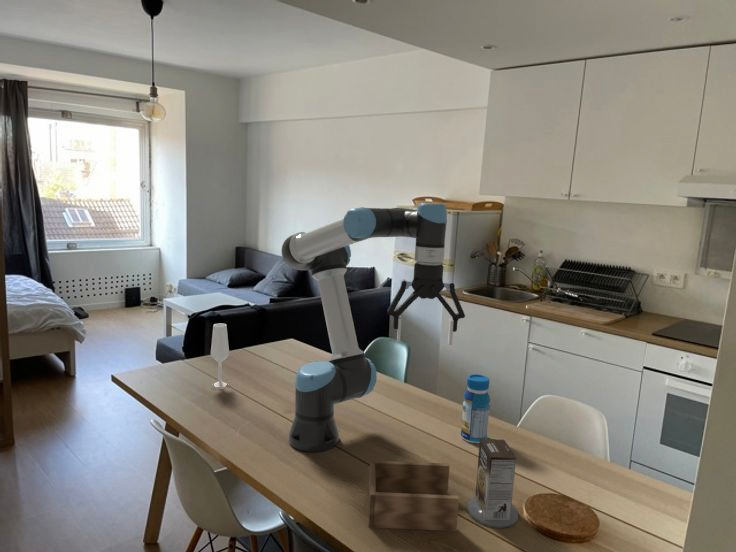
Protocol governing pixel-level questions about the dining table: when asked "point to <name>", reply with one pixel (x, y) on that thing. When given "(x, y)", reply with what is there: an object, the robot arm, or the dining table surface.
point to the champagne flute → (219, 349)
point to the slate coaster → (478, 516)
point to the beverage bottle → (475, 409)
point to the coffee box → (495, 479)
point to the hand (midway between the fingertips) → (424, 342)
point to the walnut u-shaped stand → (411, 496)
